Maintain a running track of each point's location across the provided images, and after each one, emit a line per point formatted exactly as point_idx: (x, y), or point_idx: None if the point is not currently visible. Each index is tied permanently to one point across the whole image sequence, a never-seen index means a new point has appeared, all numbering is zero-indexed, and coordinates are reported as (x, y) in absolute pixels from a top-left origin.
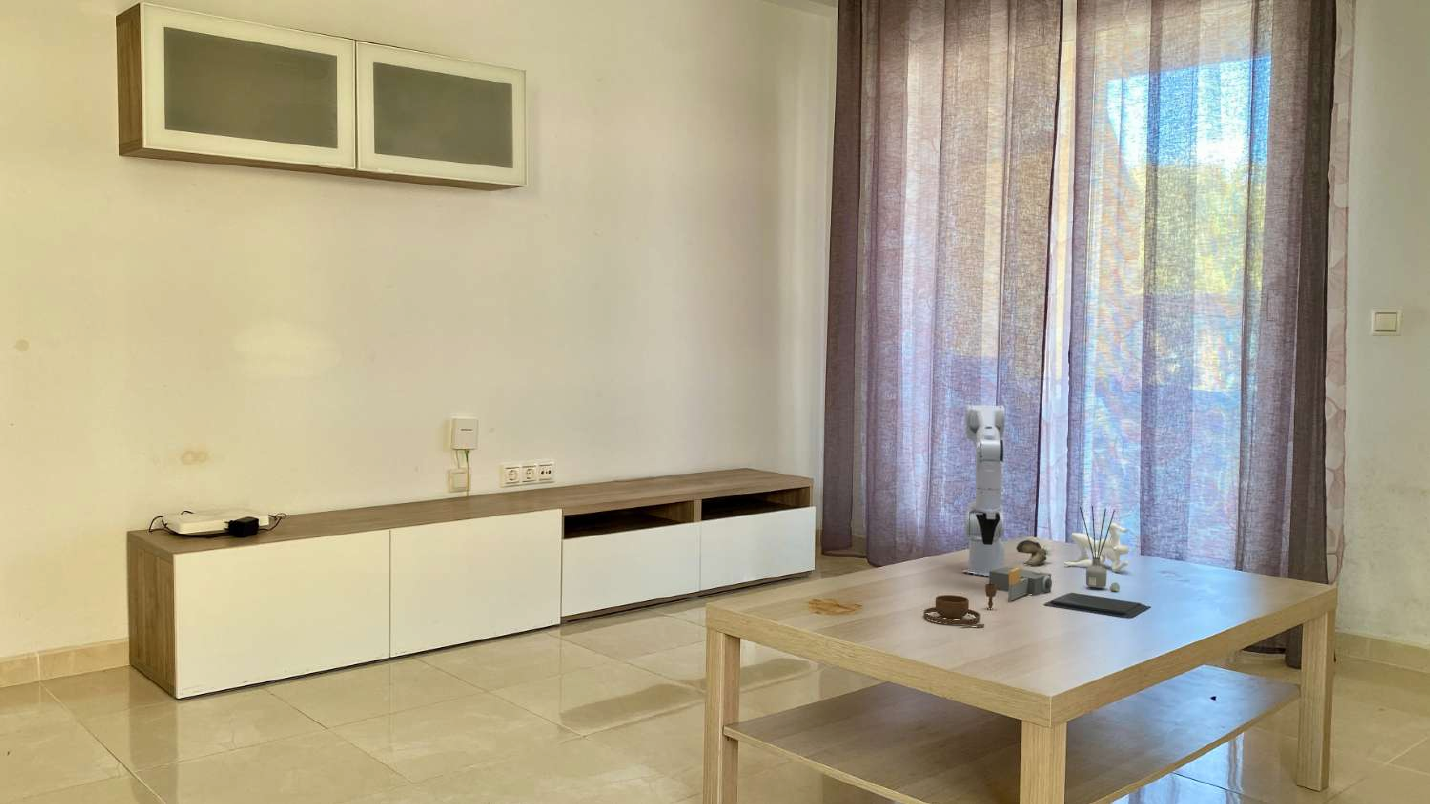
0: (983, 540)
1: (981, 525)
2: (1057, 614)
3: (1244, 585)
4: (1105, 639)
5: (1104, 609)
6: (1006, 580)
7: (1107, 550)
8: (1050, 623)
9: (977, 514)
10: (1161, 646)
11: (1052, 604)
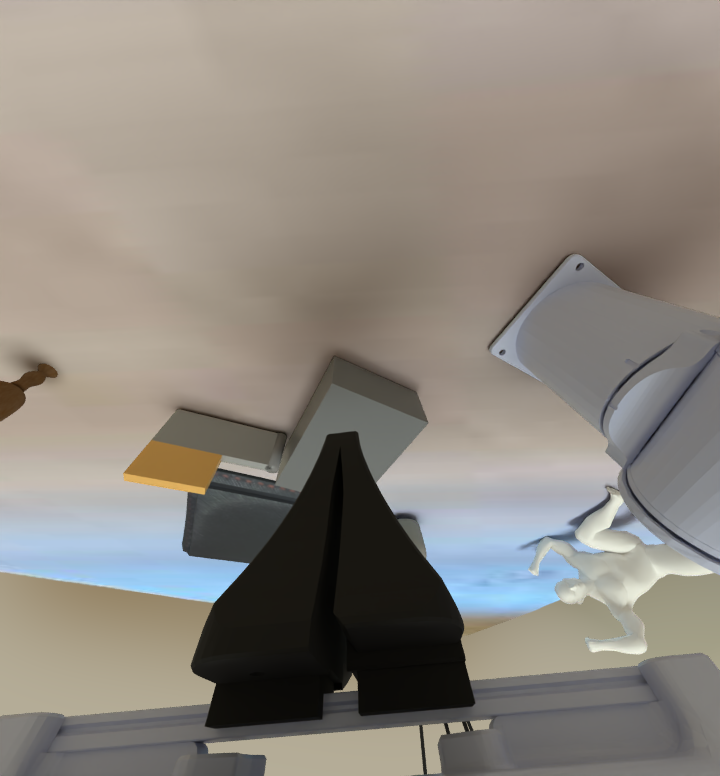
0: (322, 452)
1: (269, 548)
2: (127, 484)
3: (459, 610)
4: (2, 533)
5: (191, 539)
6: (308, 416)
7: (594, 571)
8: (30, 478)
9: (452, 626)
10: (40, 570)
11: None
